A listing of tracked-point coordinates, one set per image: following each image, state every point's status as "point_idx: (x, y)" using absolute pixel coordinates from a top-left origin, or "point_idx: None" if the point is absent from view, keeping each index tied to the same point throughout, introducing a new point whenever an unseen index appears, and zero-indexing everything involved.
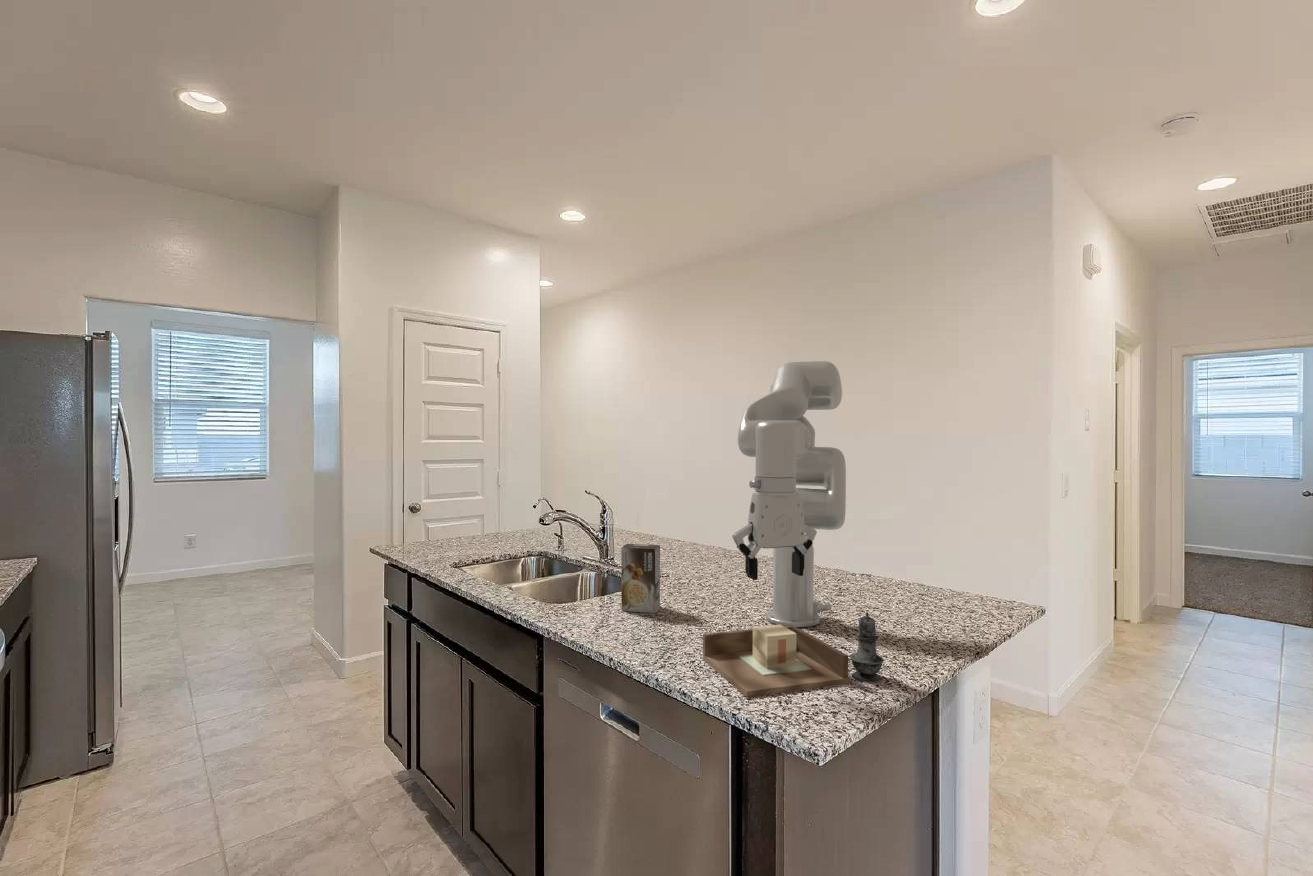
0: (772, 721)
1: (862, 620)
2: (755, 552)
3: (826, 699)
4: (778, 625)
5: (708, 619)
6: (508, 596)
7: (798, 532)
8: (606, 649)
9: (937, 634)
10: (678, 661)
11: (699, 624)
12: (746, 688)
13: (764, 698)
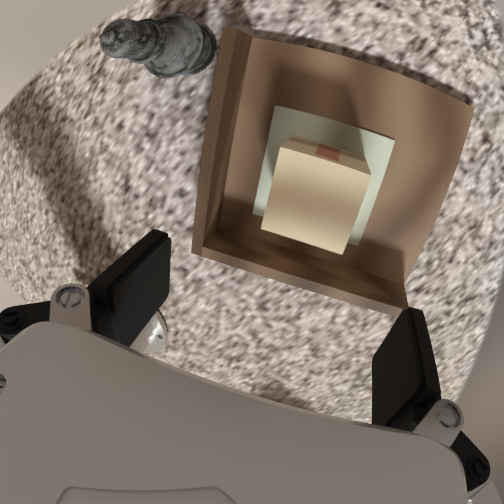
0: (487, 21)
1: (129, 33)
2: (430, 428)
3: (342, 7)
4: (272, 225)
5: (245, 389)
6: None
7: (12, 416)
8: (458, 380)
9: (10, 167)
10: (434, 302)
11: (273, 385)
12: (465, 117)
13: (445, 82)
